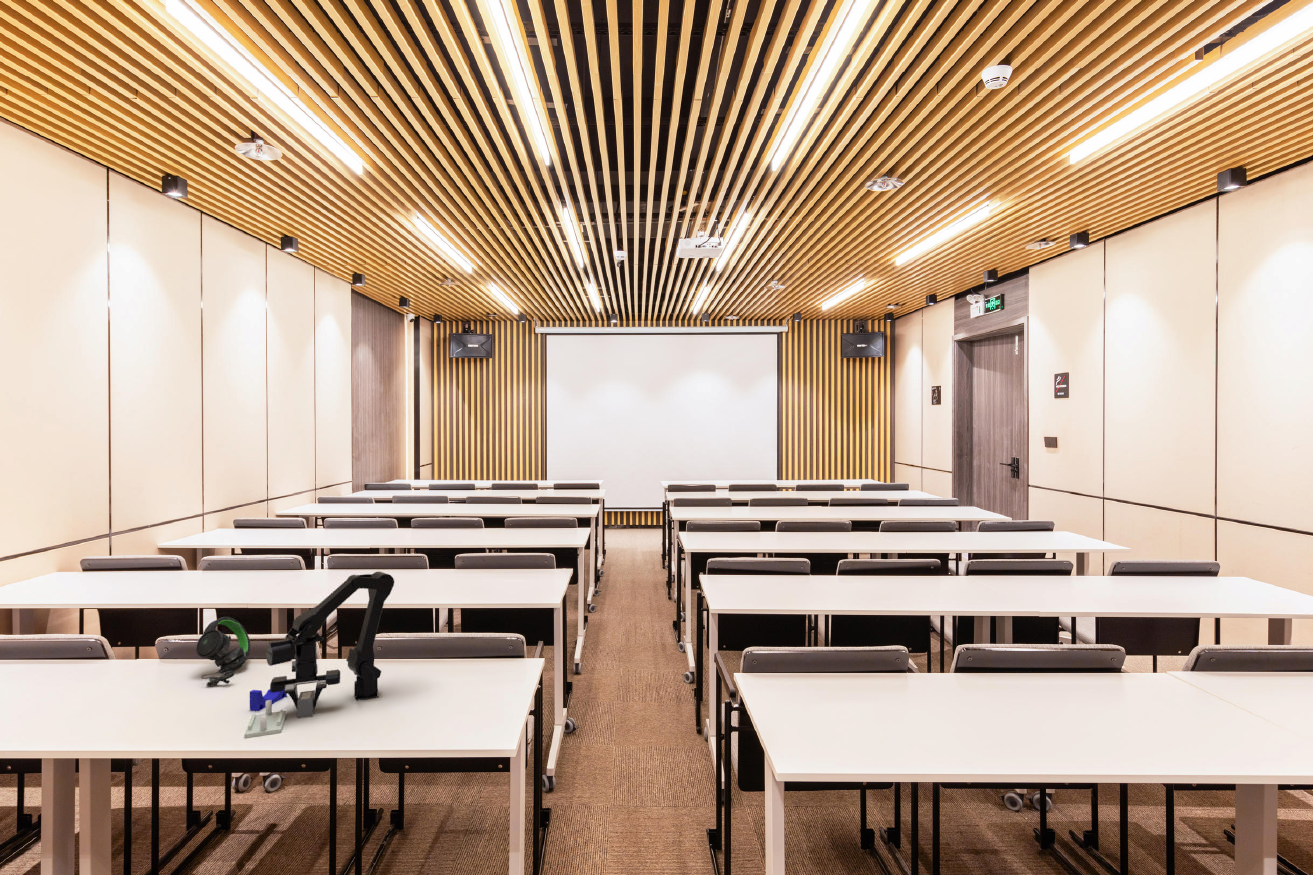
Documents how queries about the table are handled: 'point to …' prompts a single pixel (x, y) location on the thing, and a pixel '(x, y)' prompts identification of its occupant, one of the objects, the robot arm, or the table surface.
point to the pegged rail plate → (266, 722)
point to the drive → (305, 704)
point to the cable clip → (264, 698)
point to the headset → (223, 649)
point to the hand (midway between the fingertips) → (306, 708)
